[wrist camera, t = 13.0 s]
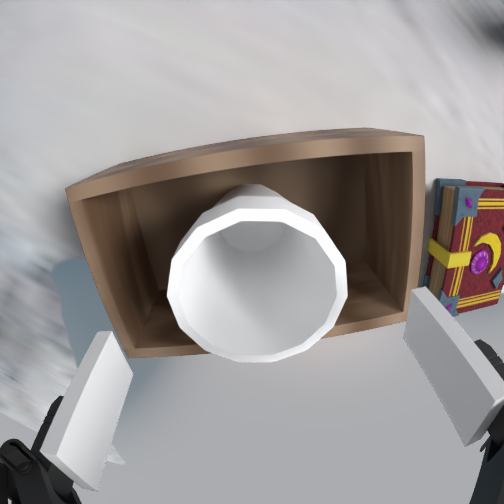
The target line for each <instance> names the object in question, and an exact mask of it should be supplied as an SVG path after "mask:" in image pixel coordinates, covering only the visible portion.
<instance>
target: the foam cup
mask: <svg viewBox="0 0 504 504" xmlns="http://www.w3.org/2000/svg"><path fill="white" fill-rule="evenodd" d="M347 296H348V294H347V277H346V262H345V260H344V258H343V257H342V255H341V254H340V252H339V251H338V249H337V248H336V246H335V245H334V243H333V242H332V240H331V239H330V237H329V236H328V234H327V233H326V231H325V230H324V228H323V227H322V226H321V224H320V223H319V221H318V220H317V219H316V217H315V216H314V214H312V213H310V212H308V211H306V210H304V209H302V208H300V207H298V206H296V205H295V204H293V203H291V202H289V201H288V200H287V199H285V198H284V197H282V196H281V195H280V194H278V193H277V192H275V191H273V190H271V189H269V188H267V187H265V186H263V185H261V184H243V185H241V186H239V187H237V188H234V189H232V190H230V191H229V192H227V193H226V194H225V195H224V197H223V198H222V199H221V200H220V201H219V202H218V203H217V204H216V205H215V206H214V207H213V208H212V209H210V210H208V211H206V212H203V213H202V214H201V216H200V217H199V218H198V219H197V221H196V222H195V223H194V225H193V226H192V227H191V228H190V230H189V231H188V232H187V234H186V235H185V236H184V237H183V239H182V240H181V241H180V243H179V245H178V247H177V250H176V252H175V254H174V256H173V258H172V261H171V268H170V275H169V283H168V290H167V298H168V300H169V303H170V305H171V308H172V310H173V313H174V315H175V318H176V320H177V323H178V325H179V327H180V328H181V329H182V330H183V331H184V332H185V333H186V334H187V335H188V336H189V337H190V338H192V339H193V340H194V341H195V342H196V343H197V344H198V345H199V346H201V347H202V348H203V349H204V350H205V351H208V352H211V353H213V354H216V355H219V356H222V357H224V358H227V359H230V360H233V361H236V362H275V361H278V360H281V359H283V358H287V357H289V356H292V355H295V354H297V353H300V352H303V351H305V350H308V349H309V348H310V347H311V346H312V345H313V344H314V343H316V342H317V341H318V340H319V339H320V338H321V337H323V336H324V335H325V334H326V333H327V332H328V331H329V330H331V329H332V328H333V327H334V325H335V322H336V320H337V318H338V316H339V314H340V312H341V309H342V307H343V305H344V303H345V301H346V298H347Z"/></svg>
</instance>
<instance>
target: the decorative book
mask: <svg viewBox="0 0 504 504" xmlns="http://www.w3.org/2000/svg"><path fill="white" fill-rule="evenodd" d="M434 214H436V217H435V225H434V233H433V238H430V240H429V247H428V252H429V253H430V259H429V265H428V270H427V274H425V277H424V282H423V287H425V286H426V287H427V289H428V290H429V291H430V292H431V293H432V294H433V295H434V296H435V297H436V298H437V300H438V301H439V302H440V303H441V304H442V305H443V306H444V307H445V309H446V310H447V311H448V312H449V313H450V314H451V315H452V317H454V316H458V315H459V313H463V312H467V311H471V310H475V309H479V308H483V307H487V306H491V305H494V304H497V302H498V300H499V296H500V293H501V290H502V287H503V285H504V184H503V183H491V182H471V181H465V180H462V179H439V178H437V183H436V198H435V209H434Z"/></svg>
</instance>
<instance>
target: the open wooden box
mask: <svg viewBox="0 0 504 504" xmlns="http://www.w3.org/2000/svg"><path fill="white" fill-rule="evenodd" d="M243 184H261V185H263V186H265V187H267V188H269V189H271V190H273V191H275V192H277V193H278V194H280V195H281V196H282V197H284V198H285V199H287V200H288V201H289V202H291V203H293V204H295V205H296V206H298V207H300V208H302V209H304V210H306V211H308V212H310V213H312V214H314V216H315V217H316V219H317V220H318V221H319V223H320V224H321V226H322V227H323V228H324V230H325V231H326V233H327V234H328V236H329V237H330V239H331V240H332V242H333V243H334V245H335V246H336V248H337V249H338V251H339V252H340V254H341V255H342V257H343V258H344V260H345V262H346V277H347V294H348V296H347V298H346V301H345V303H344V305H343V307H342V309H341V312H340V314H339V316H338V318H337V320H336V322H335V325H334V327H333V328H332V329H331V330H329V331H328V332H327V333H326V334H325V335H324V336H323V337H321V338H320V339H322V338H328V337H333V336H339V335H344V334H349V333H354V332H359V331H364V330H369V329H373V328H378V327H383V326H387V325H392V324H396V323H400V322H404V321H407V315H408V308H409V302H410V295H411V290H412V289H416V288H418V280H419V272H420V264H421V254H422V243H423V230H424V212H425V141H424V136H422V135H416V134H410V133H403V132H397V131H389V130H382V129H374V128H350V129H333V130H319V131H308V132H297V133H287V134H278V135H270V136H262V137H254V138H247V139H240V140H234V141H227V142H221V143H215V144H209V145H204V146H198V147H193V148H188V149H183V150H178V151H173V152H168V153H163V154H159V155H154V156H150V157H146V158H141V159H137V160H133V161H129V162H125V163H121V164H118V165H116V166H113V167H111V168H109V169H106V170H104V171H102V172H99V173H97V174H95V175H93V176H91V177H88V178H86V179H84V180H82V181H80V182H78V183H75V184H73V185H71V186H69V187H67V188H65V190H66V194H67V198H68V202H69V205H70V209H71V212H72V216H73V219H74V223H75V226H76V229H77V233H78V236H79V239H80V242H81V245H82V248H83V251H84V254H85V257H86V260H87V262H88V265H89V268H90V271H91V273H92V276H93V279H94V281H95V284H96V286H97V289H98V292H99V294H100V297H101V299H102V302H103V304H104V307H105V309H106V311H107V314H108V316H109V318H110V321H111V323H112V325H113V327H114V330H115V332H116V334H117V336H118V339H119V341H120V343H121V345H122V347H123V349H124V351H125V353H126V355H127V357H128V358H147V357H167V356H183V355H197V354H208V353H211V352H208V351H205V350H204V349H203V348H202V347H201V346H199V345H198V344H197V343H196V342H195V341H194V340H193V339H192V338H190V337H189V336H188V335H187V334H186V333H185V332H184V331H183V330H182V329H181V328H180V327H179V325H178V323H177V320H176V318H175V315H174V313H173V310H172V308H171V305H170V303H169V300H168V298H167V290H168V283H169V275H170V268H171V261H172V258H173V256H174V254H175V252H176V250H177V247H178V245H179V243H180V241H181V240H182V239H183V237H184V236H185V235H186V234H187V232H188V231H189V230H190V228H191V227H192V226H193V225H194V223H195V222H196V221H197V219H198V218H199V217H200V216H201V214H202V213H203V212H206V211H208V210H210V209H212V208H213V207H214V206H215V205H216V204H217V203H218V202H219V201H220V200H221V199H222V198H223V197H224V195H225V194H226V193H227V192H229V191H230V190H232V189H234V188H237V187H239V186H241V185H243Z"/></svg>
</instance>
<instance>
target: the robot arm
mask: <svg viewBox="0 0 504 504" xmlns="http://www.w3.org/2000/svg"><path fill="white" fill-rule="evenodd" d="M403 338H404V340H405V342H406V343H407V345H408V346H409V348H410V350H411V351H412V353H413V354H414V356H415V358H416V359H417V361H418V363H419V364H420V366H421V368H422V369H423V371H424V373H425V375H426V376H427V378H428V379H429V381H430V383H431V385H432V387H433V388H434V390H435V392H436V393H437V395H438V397H439V399H440V401H441V403H442V404H443V406H444V408H445V410H446V411H447V413H448V415H449V417H450V419H451V421H452V423H453V424H454V427H455V429H456V430H457V432H458V434H459V436H460V438H461V440H462V442H463V444H464V446H465V447H466V446H468V445H470V444H472V443H474V442H476V441H478V440H480V439H481V438H482V436H483V435H484V433H485V432H486V431H488V432H489V434H490V436H489V438H488V439H487V441H486V442H485V443H484V444H483V445H482V447H481V449H480V452H482V451H483V450H484V448H485V447H486V449H485V453H484V457H483V461H482V465H481V469H480V472H479V476H478V479H477V483H476V486H475V489H474V492H473V495H472V498H471V500H470V503H469V504H504V363H503V361H502V360H501V359H500V357H499V356H497V354H496V352H495V351H494V350H493V349H492V347H491V346H490V345H488V344H487V343H485V342H483V341H482V340H477V341H475V342H473V341H472V339H470V337H469V336H468V334H467V333H466V332H465V331H464V330H463V329H462V327H461V326H460V325H459V324H458V323H457V321H456V320H455V319H454V318H453V317H452V315H451V314H450V313H449V312H448V311H447V310H446V309H445V307H444V306H443V305H442V304H441V303H440V302H439V301H438V300H437V298H436V297H435V296H434V295H433V294H432V293H431V292H430V291H429V290H428V289H427V287H426V286H425V287H421V288H416V289H412V290H411V295H410V302H409V308H408V315H407V321H406V326H405V332H404V337H403ZM132 377H133V373H132V371H131V370H130V367H129V365H128V363H127V361H126V359H125V358H124V356H123V353H122V351H121V349H120V347H119V345H118V343H117V341H116V339H115V337H114V335H113V333H112V331H100V332H98V333H97V334H96V336H95V338H94V340H93V341H92V343H91V345H90V347H89V349H88V351H87V352H86V354H85V356H84V358H83V360H82V362H81V364H80V366H79V368H78V370H77V371H76V373H75V375H74V377H73V379H72V381H71V383H70V385H69V387H68V389H67V391H66V394H65V396H59V397H58V398H57V399H56V400H55V401H54V402H53V403H52V405H51V407H50V409H49V411H48V413H47V416H46V417H45V419H44V421H43V422H44V423H43V424H42V426H41V428H40V430H39V432H38V435H37V437H36V439H35V441H34V443H33V446H32V448H31V450H29V449H28V448H27V447H26V446H25V445H24V444H23V443H22V442H21V441H19V440H18V439H10V440H7V441H6V442H5V443H3V445H2V446H1V448H0V504H8V499H10V500H11V501H12V504H82V503H81V501H80V499H79V497H78V495H77V493H76V491H75V490H74V488H73V487H72V486H73V482H75V483H76V484H77V485H79V486H80V487H81V488H83V489H87V490H91V491H96V492H98V490H99V486H100V483H101V479H102V475H103V471H104V467H105V464H106V460H107V457H108V453H109V450H110V446H111V443H112V439H113V436H114V433H115V429H116V426H117V423H118V420H119V416H120V413H121V410H122V407H123V404H124V401H125V398H126V394H127V392H128V389H129V385H130V383H131V380H132Z"/></svg>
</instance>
